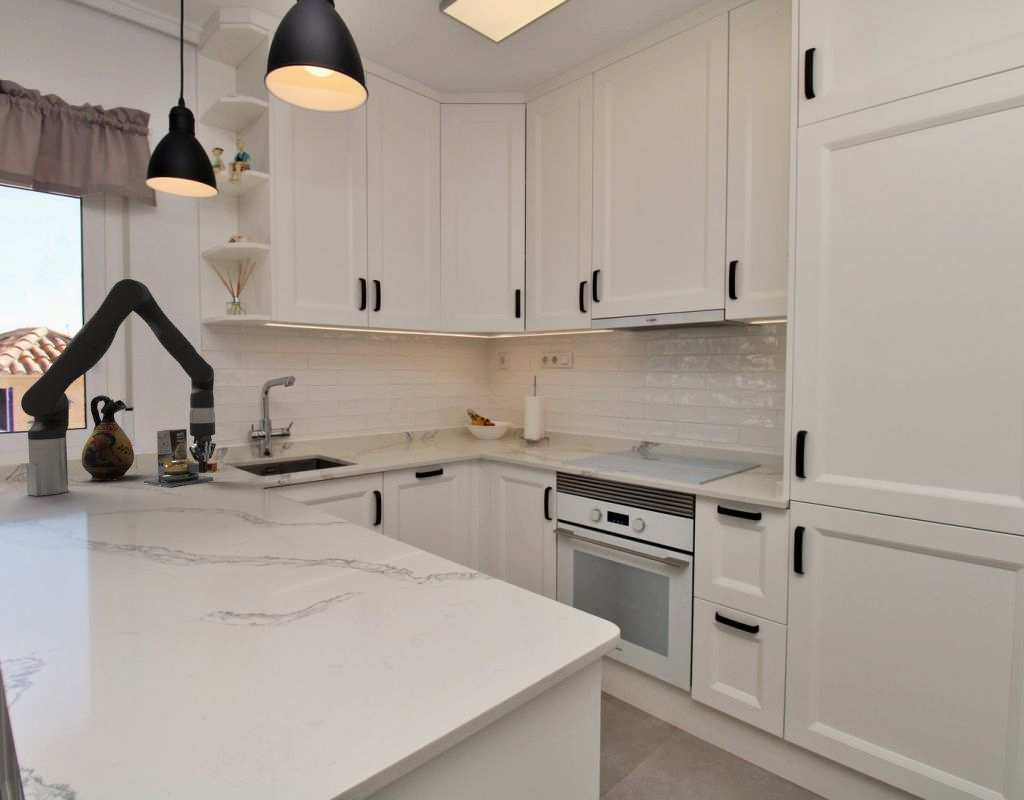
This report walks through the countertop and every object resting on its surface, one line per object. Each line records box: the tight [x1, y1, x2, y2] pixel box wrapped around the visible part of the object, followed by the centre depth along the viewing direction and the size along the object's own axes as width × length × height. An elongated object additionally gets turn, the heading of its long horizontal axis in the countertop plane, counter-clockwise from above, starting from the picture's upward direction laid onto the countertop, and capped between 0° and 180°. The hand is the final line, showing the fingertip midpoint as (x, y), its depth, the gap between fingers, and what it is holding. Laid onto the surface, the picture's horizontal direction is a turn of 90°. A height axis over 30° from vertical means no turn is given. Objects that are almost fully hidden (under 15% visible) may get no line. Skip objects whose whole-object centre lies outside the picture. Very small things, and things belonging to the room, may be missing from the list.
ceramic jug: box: [81, 394, 135, 482], centre depth 201 cm, size 17×15×30 cm
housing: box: [143, 460, 214, 488], centre depth 194 cm, size 15×15×7 cm
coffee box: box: [156, 428, 188, 474], centre depth 216 cm, size 9×6×16 cm
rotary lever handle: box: [163, 458, 218, 475], centre depth 194 cm, size 18×9×4 cm, turn 86°
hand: (203, 472), depth 190 cm, fingers closed
